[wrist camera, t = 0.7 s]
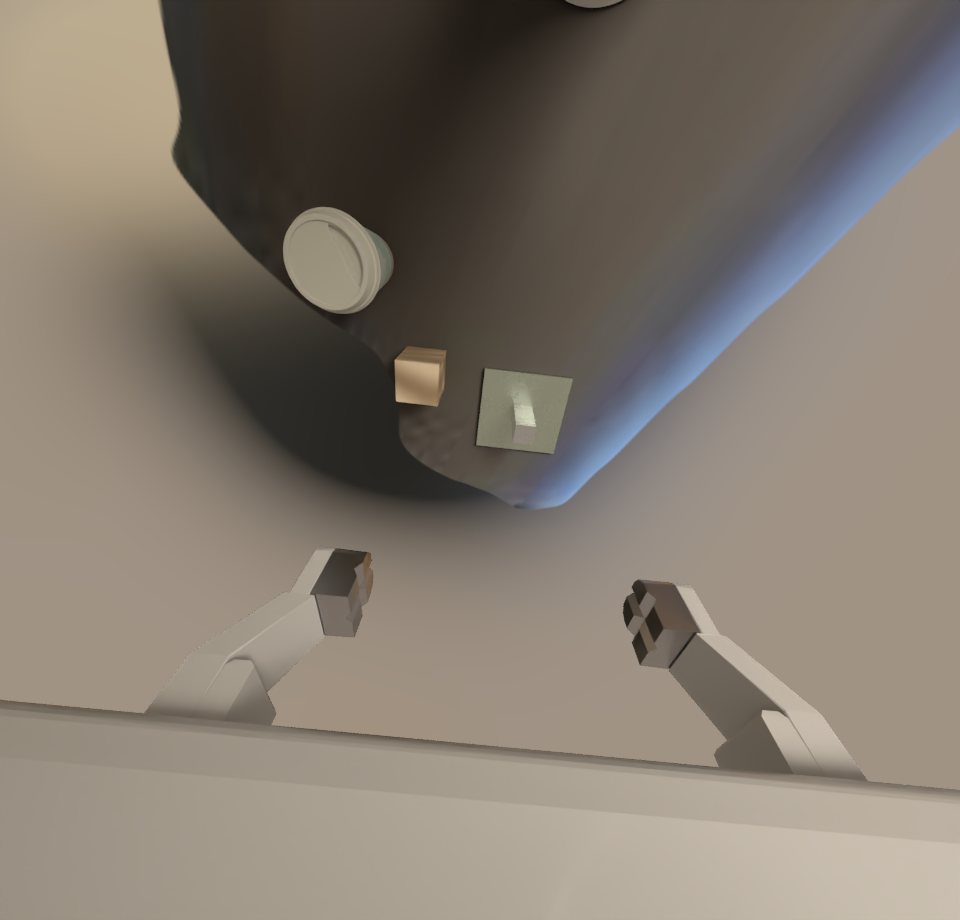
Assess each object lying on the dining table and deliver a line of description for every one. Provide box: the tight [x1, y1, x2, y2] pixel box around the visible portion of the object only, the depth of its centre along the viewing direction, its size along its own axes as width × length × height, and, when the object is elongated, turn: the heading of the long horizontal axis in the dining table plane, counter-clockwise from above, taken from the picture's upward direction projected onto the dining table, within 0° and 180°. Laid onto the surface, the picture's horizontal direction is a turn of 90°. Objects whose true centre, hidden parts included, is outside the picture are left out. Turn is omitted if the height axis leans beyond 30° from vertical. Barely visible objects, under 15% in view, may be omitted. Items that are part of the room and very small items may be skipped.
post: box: [476, 367, 573, 454], centre depth 46 cm, size 12×12×7 cm
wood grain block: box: [395, 346, 446, 406], centre depth 44 cm, size 5×5×7 cm
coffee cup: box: [283, 207, 394, 314], centre depth 35 cm, size 8×8×12 cm
